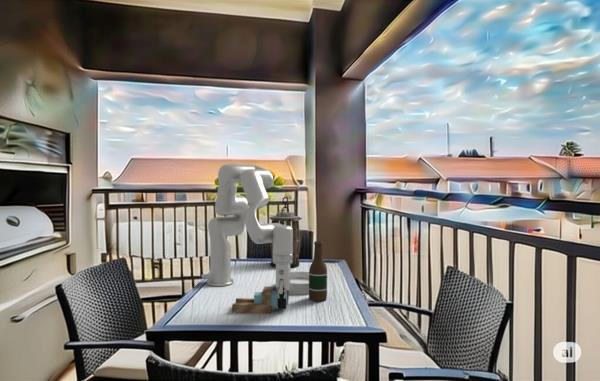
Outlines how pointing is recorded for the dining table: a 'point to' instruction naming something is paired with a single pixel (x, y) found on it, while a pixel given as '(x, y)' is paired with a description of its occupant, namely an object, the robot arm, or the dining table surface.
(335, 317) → the dining table surface
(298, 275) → the dish
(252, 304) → the brown wooden bracket
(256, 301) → the teal block
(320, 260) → the beer bottle
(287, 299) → the cradle block
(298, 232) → the lantern
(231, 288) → the dining table surface
